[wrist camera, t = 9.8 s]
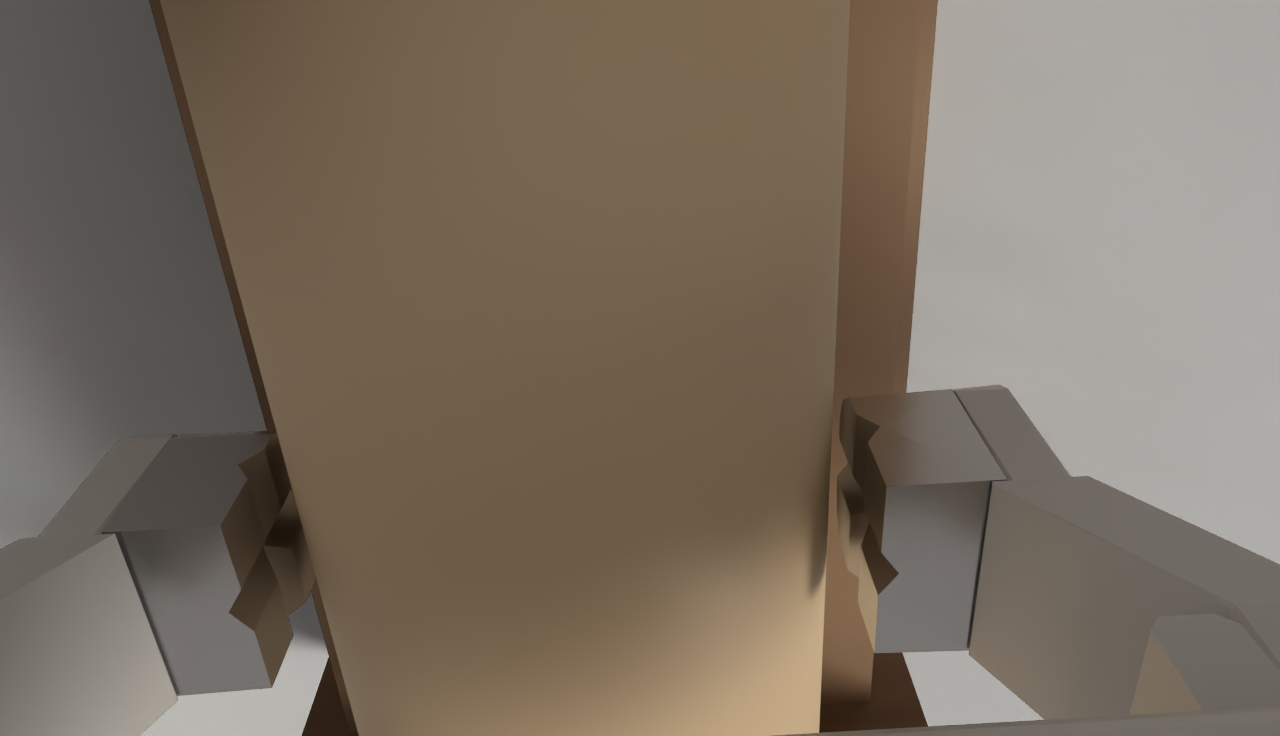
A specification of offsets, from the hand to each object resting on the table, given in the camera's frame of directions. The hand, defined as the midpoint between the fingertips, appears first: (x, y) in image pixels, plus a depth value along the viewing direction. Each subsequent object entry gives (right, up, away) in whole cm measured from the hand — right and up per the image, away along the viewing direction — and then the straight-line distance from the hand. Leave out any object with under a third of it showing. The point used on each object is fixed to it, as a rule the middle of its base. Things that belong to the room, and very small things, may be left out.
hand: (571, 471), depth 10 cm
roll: (0, +1, +2) cm, 2 cm away
